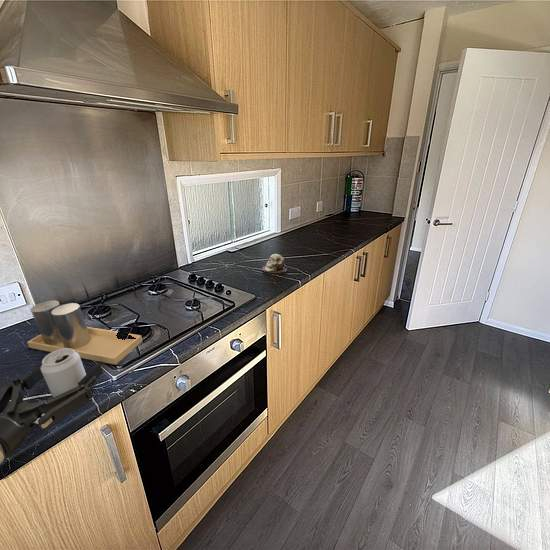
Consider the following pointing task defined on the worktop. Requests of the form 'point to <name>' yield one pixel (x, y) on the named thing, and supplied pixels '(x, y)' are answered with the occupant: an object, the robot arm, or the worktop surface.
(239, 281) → the worktop surface
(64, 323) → the silver can
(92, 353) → the tray
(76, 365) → the can
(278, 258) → the skull
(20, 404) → the robot arm
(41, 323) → the silver can
